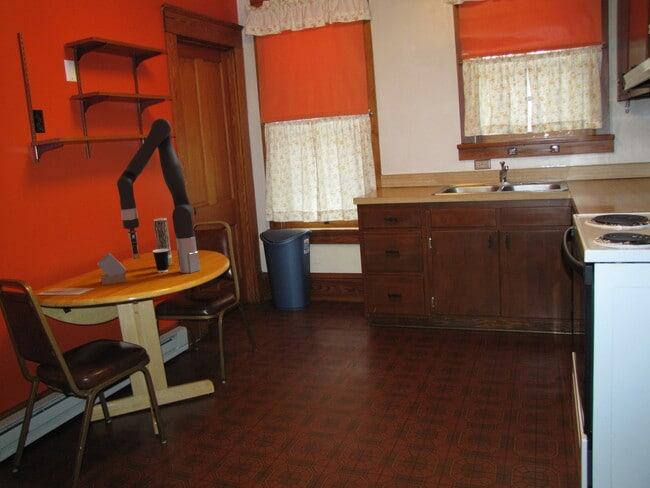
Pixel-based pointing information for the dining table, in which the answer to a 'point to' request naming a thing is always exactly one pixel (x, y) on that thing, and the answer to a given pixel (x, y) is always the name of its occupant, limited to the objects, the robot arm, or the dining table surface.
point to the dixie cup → (161, 259)
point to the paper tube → (162, 236)
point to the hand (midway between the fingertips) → (135, 253)
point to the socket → (111, 270)
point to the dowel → (135, 256)
